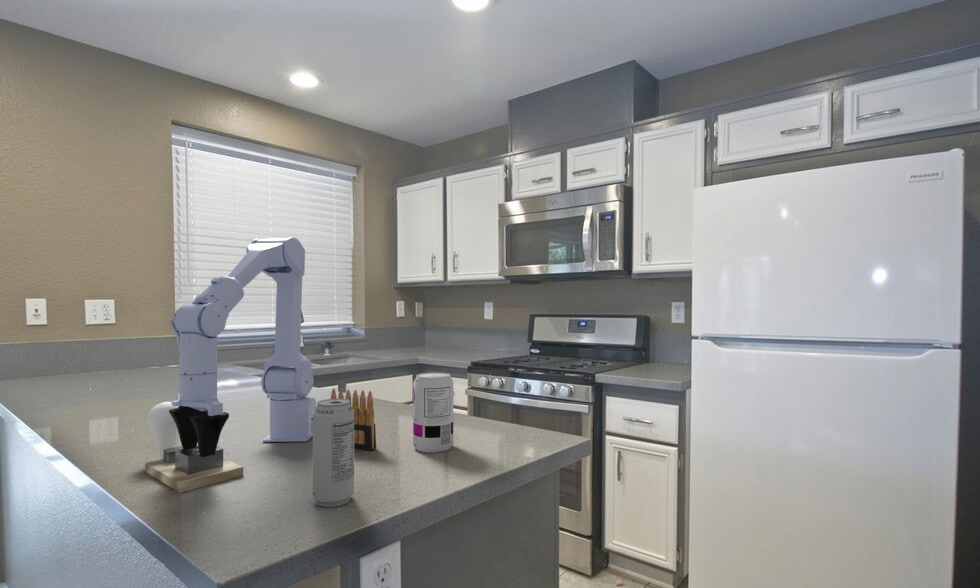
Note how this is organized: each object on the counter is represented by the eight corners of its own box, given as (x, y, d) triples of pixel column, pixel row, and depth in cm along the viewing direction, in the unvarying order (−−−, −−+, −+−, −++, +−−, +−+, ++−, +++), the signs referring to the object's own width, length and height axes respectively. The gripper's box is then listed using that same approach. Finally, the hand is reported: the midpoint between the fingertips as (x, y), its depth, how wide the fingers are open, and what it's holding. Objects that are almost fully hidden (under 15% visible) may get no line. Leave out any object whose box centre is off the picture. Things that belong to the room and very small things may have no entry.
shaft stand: (144, 471, 90) (144, 445, 90) (204, 457, 98) (204, 434, 98) (179, 492, 80) (179, 464, 80) (243, 475, 88) (243, 449, 88)
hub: (175, 467, 87) (175, 450, 87) (209, 459, 92) (209, 443, 92) (188, 474, 84) (188, 456, 84) (223, 466, 88) (223, 448, 88)
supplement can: (405, 451, 102) (405, 376, 102) (425, 440, 110) (426, 371, 110) (441, 455, 99) (441, 379, 99) (459, 444, 107) (459, 373, 107)
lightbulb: (166, 465, 93) (166, 405, 93) (138, 463, 94) (139, 404, 95) (192, 455, 99) (192, 399, 99) (165, 453, 100) (166, 398, 101)
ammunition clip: (376, 448, 104) (376, 390, 104) (371, 451, 102) (371, 391, 102) (332, 444, 107) (332, 387, 107) (326, 446, 106) (327, 388, 106)
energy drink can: (334, 490, 81) (334, 396, 81) (362, 497, 78) (362, 400, 78) (303, 503, 76) (304, 403, 76) (332, 511, 73) (332, 407, 73)
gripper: (157, 371, 89) (157, 448, 89) (190, 379, 80) (189, 465, 80) (200, 367, 95) (200, 440, 95) (235, 374, 86) (235, 455, 86)
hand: (198, 451), depth 88 cm, fingers open, 7 cm apart
